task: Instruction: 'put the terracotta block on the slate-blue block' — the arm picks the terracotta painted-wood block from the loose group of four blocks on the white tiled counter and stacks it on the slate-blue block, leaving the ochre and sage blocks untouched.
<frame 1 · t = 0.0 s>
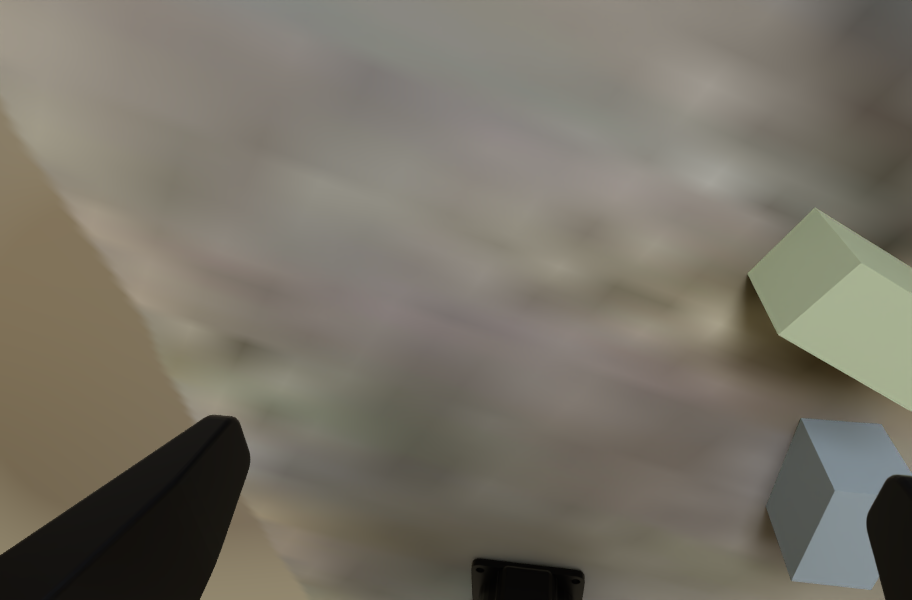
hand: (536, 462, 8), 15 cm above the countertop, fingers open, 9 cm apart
sage block: (842, 279, 22), on the countertop
slate-blue block: (818, 466, 27), on the countertop
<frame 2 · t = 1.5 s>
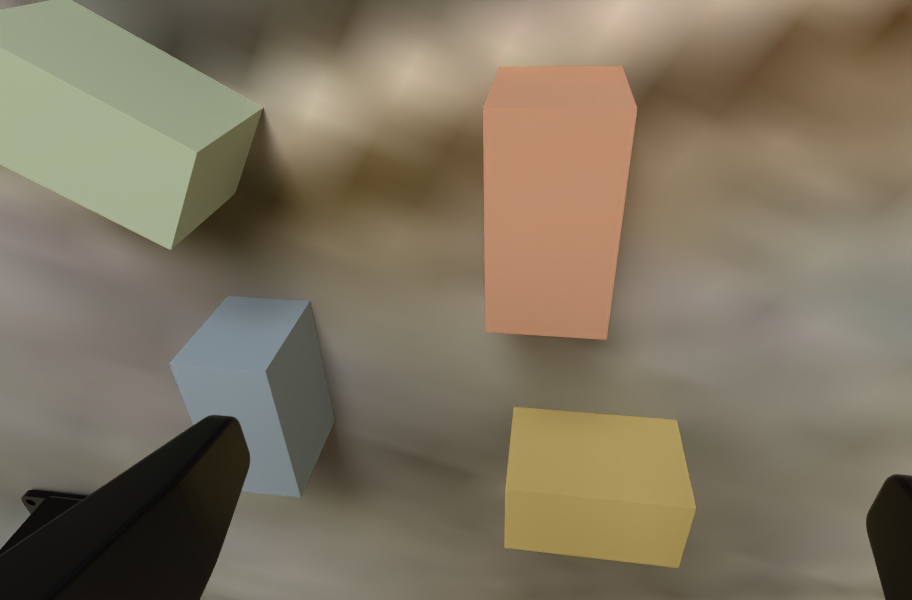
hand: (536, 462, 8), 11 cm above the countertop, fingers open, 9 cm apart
ochre block: (589, 440, 23), on the countertop
terracotta block: (553, 172, 17), on the countertop
sage block: (159, 101, 18), on the countertop
slate-blue block: (285, 360, 23), on the countertop
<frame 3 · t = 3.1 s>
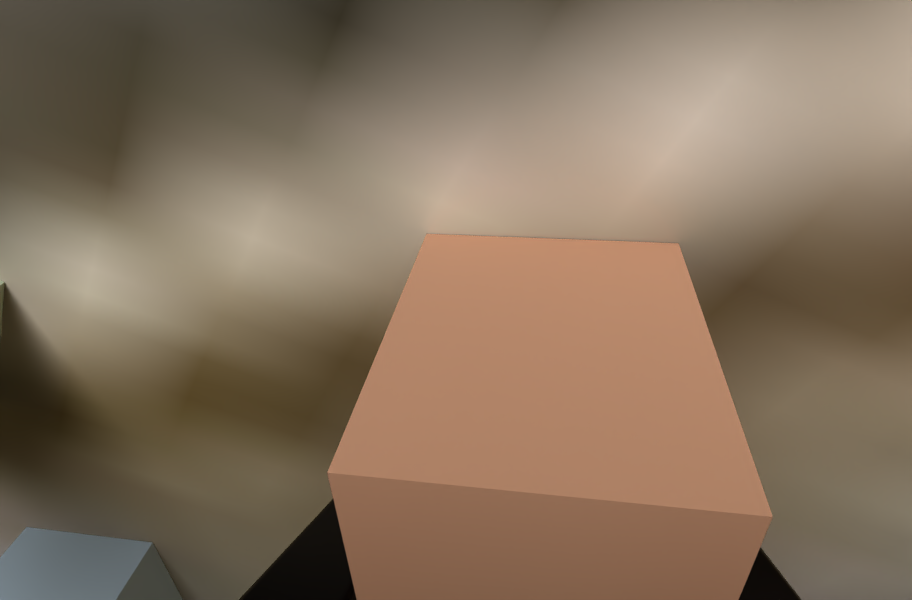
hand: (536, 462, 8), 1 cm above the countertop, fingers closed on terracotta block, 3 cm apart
terracotta block: (538, 409, 9), on the countertop, touching gripper
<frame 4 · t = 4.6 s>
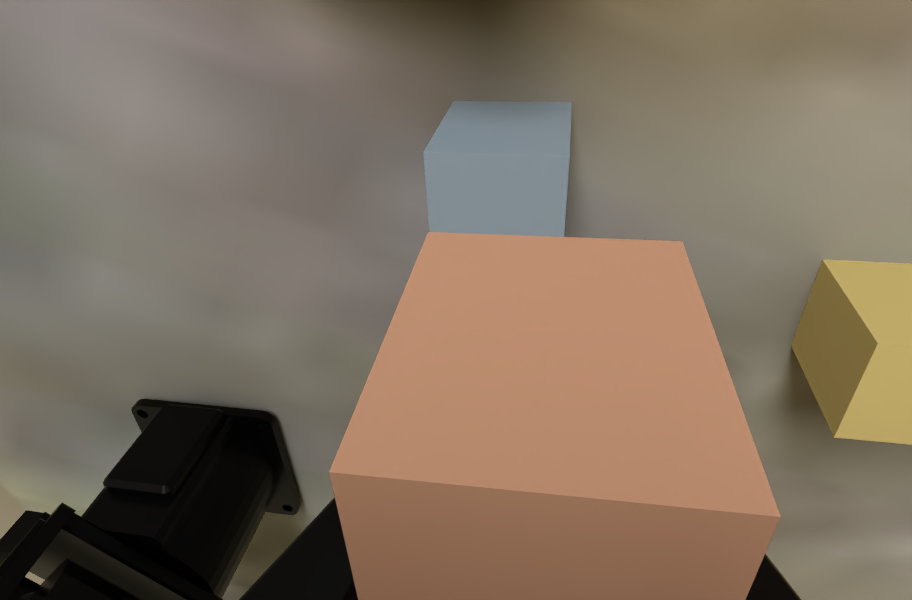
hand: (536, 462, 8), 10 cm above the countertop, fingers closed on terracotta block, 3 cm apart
terracotta block: (540, 408, 9), point 9 cm above the countertop, touching gripper
slate-blue block: (510, 201, 18), on the countertop
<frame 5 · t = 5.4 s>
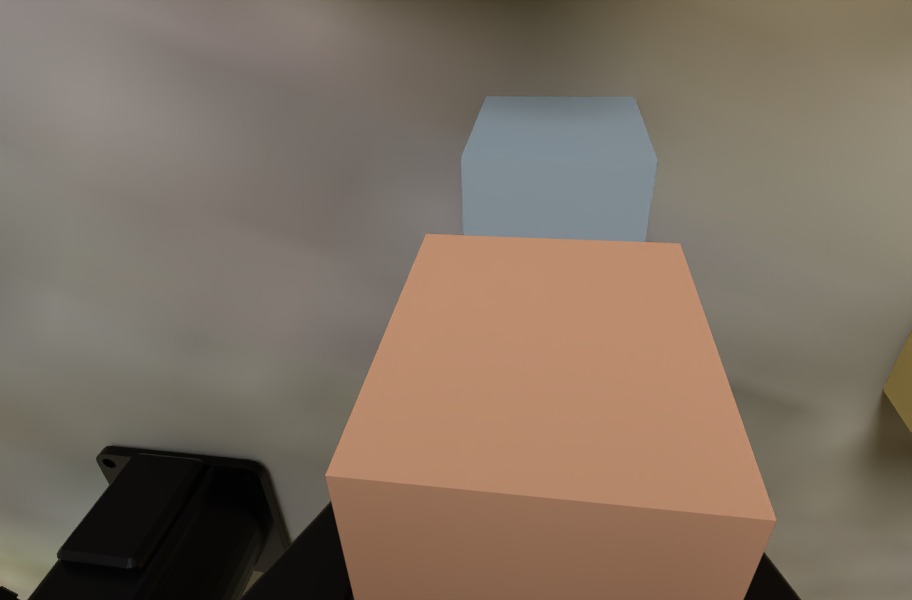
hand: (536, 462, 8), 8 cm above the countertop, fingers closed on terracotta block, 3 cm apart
terracotta block: (539, 410, 9), point 7 cm above the countertop, touching gripper
slate-blue block: (551, 218, 15), on the countertop
when the fingers open (6 cm above the countertop, at t = 6.0 s): terracotta block stays where it is, resting on slate-blue block.
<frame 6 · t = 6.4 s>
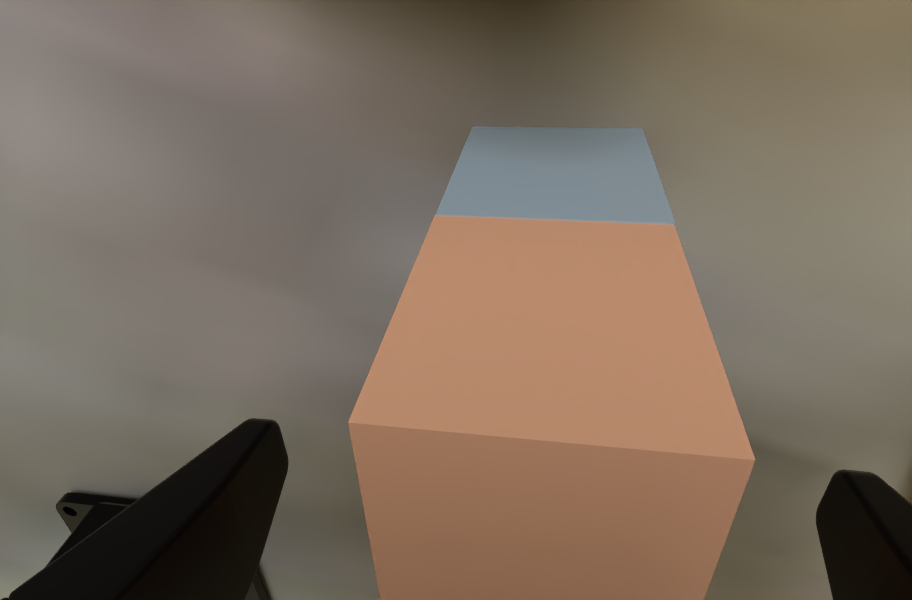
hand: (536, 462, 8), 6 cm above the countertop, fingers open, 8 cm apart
terracotta block: (540, 386, 10), point 4 cm above the countertop, touching slate-blue block
slate-blue block: (547, 263, 13), on the countertop, touching terracotta block
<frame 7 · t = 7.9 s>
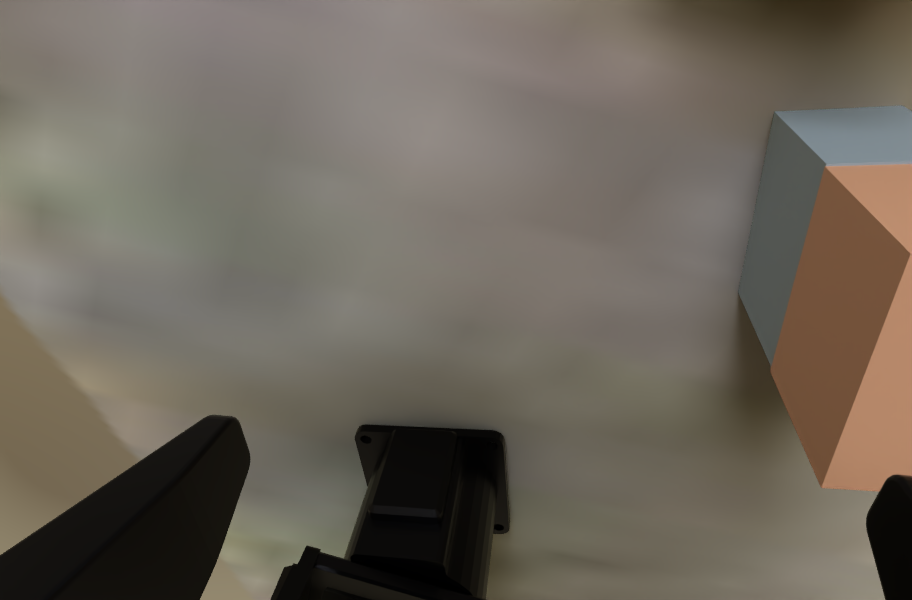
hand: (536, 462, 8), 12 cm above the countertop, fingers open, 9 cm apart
terracotta block: (864, 280, 15), point 4 cm above the countertop, touching slate-blue block
slate-blue block: (811, 208, 18), on the countertop, touching terracotta block
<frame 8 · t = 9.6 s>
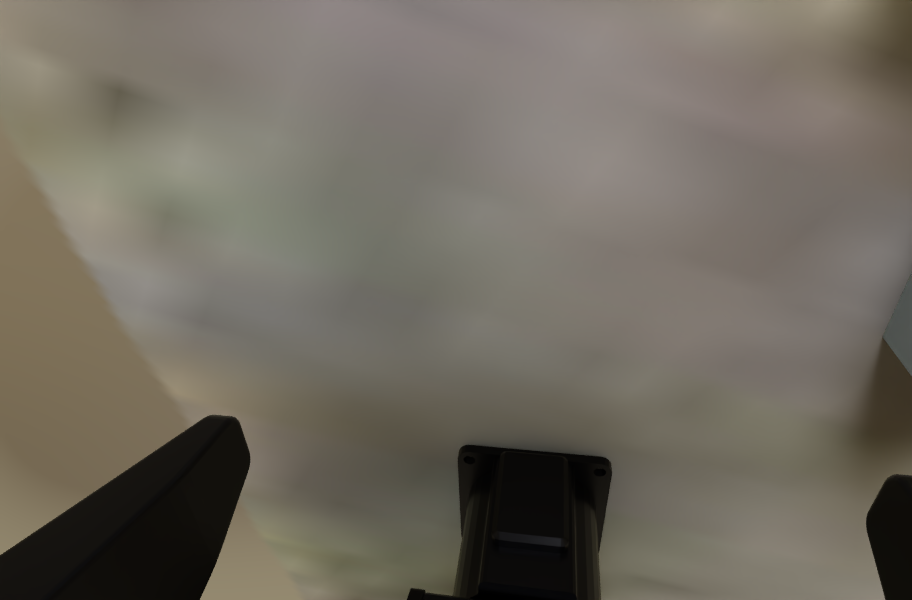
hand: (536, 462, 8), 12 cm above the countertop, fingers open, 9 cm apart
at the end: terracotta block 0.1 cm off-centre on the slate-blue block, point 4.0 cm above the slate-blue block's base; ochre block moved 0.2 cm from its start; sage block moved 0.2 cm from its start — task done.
